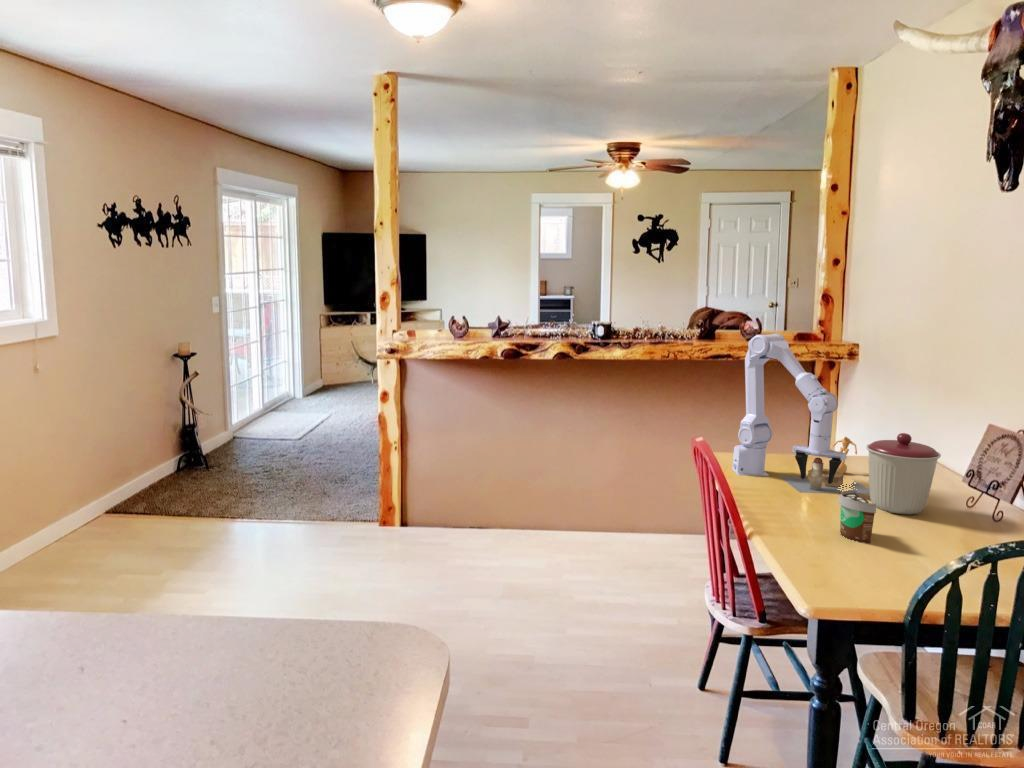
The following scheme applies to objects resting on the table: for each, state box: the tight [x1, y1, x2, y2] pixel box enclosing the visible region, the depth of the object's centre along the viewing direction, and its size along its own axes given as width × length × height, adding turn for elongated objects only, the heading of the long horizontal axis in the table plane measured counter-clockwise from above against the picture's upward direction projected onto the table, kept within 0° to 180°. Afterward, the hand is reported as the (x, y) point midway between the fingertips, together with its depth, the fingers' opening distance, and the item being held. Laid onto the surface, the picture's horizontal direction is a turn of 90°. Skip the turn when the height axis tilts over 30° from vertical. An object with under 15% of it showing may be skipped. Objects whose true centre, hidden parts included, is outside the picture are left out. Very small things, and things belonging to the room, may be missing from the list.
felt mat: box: [779, 476, 870, 495], centre depth 236 cm, size 22×17×1 cm
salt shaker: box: [810, 457, 825, 491], centre depth 230 cm, size 3×3×10 cm
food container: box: [837, 490, 877, 544], centre depth 191 cm, size 12×6×10 cm, turn 178°
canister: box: [865, 432, 942, 515], centre depth 214 cm, size 18×18×21 cm
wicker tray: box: [807, 468, 845, 487], centre depth 238 cm, size 9×9×3 cm
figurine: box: [830, 436, 858, 475], centre depth 250 cm, size 8×6×12 cm
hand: (816, 480), depth 230 cm, fingers open, 7 cm apart
